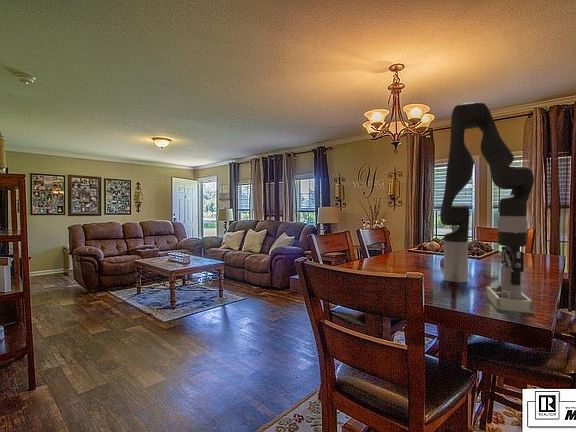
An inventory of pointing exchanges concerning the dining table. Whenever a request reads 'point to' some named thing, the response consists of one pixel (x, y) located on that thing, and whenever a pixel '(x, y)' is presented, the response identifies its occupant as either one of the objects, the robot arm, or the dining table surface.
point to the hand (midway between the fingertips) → (511, 281)
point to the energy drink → (509, 285)
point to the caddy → (509, 302)
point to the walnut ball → (498, 289)
